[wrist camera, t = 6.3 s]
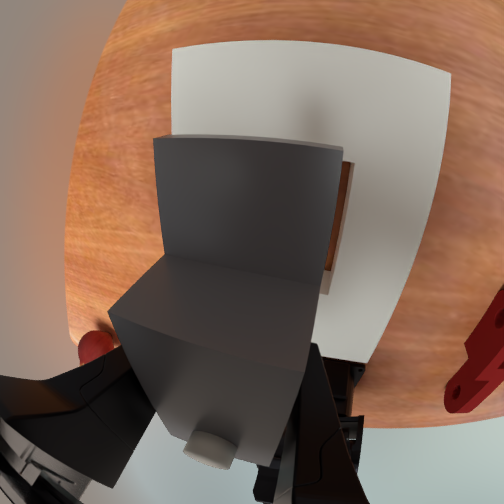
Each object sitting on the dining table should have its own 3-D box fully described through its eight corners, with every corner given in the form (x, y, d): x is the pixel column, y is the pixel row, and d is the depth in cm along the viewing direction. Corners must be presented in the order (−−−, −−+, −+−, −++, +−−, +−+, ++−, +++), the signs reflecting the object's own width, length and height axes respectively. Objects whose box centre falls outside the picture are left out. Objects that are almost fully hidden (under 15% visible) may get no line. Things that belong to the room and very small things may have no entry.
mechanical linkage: (503, 278, 16) (525, 315, 12) (540, 290, 14) (560, 323, 10) (427, 385, 24) (430, 420, 20) (467, 387, 23) (473, 419, 18)
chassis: (367, 338, 23) (367, 363, 20) (204, 303, 26) (190, 323, 24) (434, 78, 11) (451, 73, 9) (195, 54, 15) (172, 49, 12)
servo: (217, 124, 8) (30, 184, 3) (340, 134, 7) (353, 216, 2) (225, 368, 15) (177, 466, 9) (291, 384, 14) (258, 492, 9)
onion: (116, 349, 39) (90, 383, 33) (92, 325, 38) (63, 356, 32) (129, 343, 36) (100, 381, 30) (102, 316, 35) (70, 351, 28)
